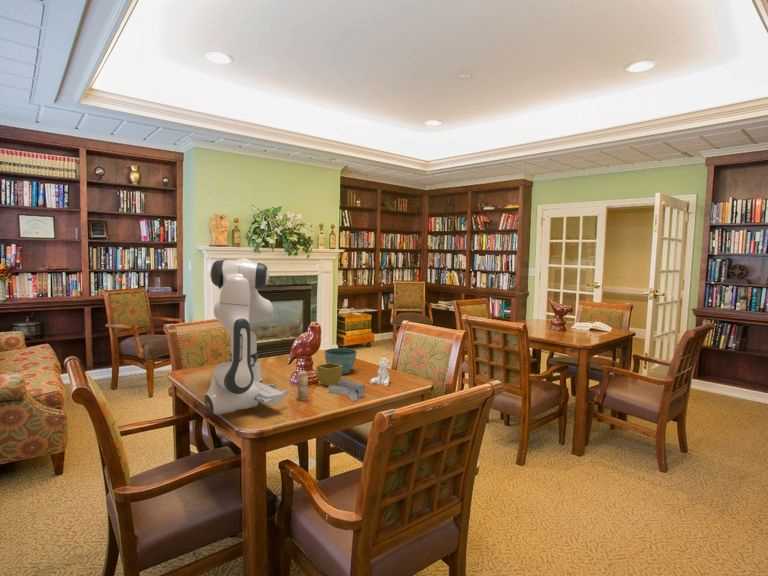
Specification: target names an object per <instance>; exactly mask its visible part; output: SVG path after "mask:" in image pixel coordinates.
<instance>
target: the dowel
mask: <svg viewBox="0 0 768 576" xmlns="http://www.w3.org/2000/svg"><path fill="white" fill-rule="evenodd" d="M308 377H309V372H308V371H299V372H298V373H297V400H298V401H302V402H303V401H307V400H308V394H309V393H308V392H309V391H308V389H309V387H308V386H309V385H308V383H309V381H308V380H309V378H308Z"/></svg>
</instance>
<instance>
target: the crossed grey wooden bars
mask: <svg viewBox="0 0 768 576" xmlns="http://www.w3.org/2000/svg"><path fill="white" fill-rule="evenodd" d="M365 389H366V387H365V384H363V383H360V382H357V381H354V380H352V379H348V378H343V379H341V378H340V380H339V382H338V384H337V385H334V384H330V385H329V387H328V393H331V394H338V393H340V394H339V395H346V394H348V398H349V399H350V401H351V402H358V399H361V398H364V397H365V395H366V394H365V393H366V392H365V391H366V390H365ZM360 397H361V398H360Z"/></svg>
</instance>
